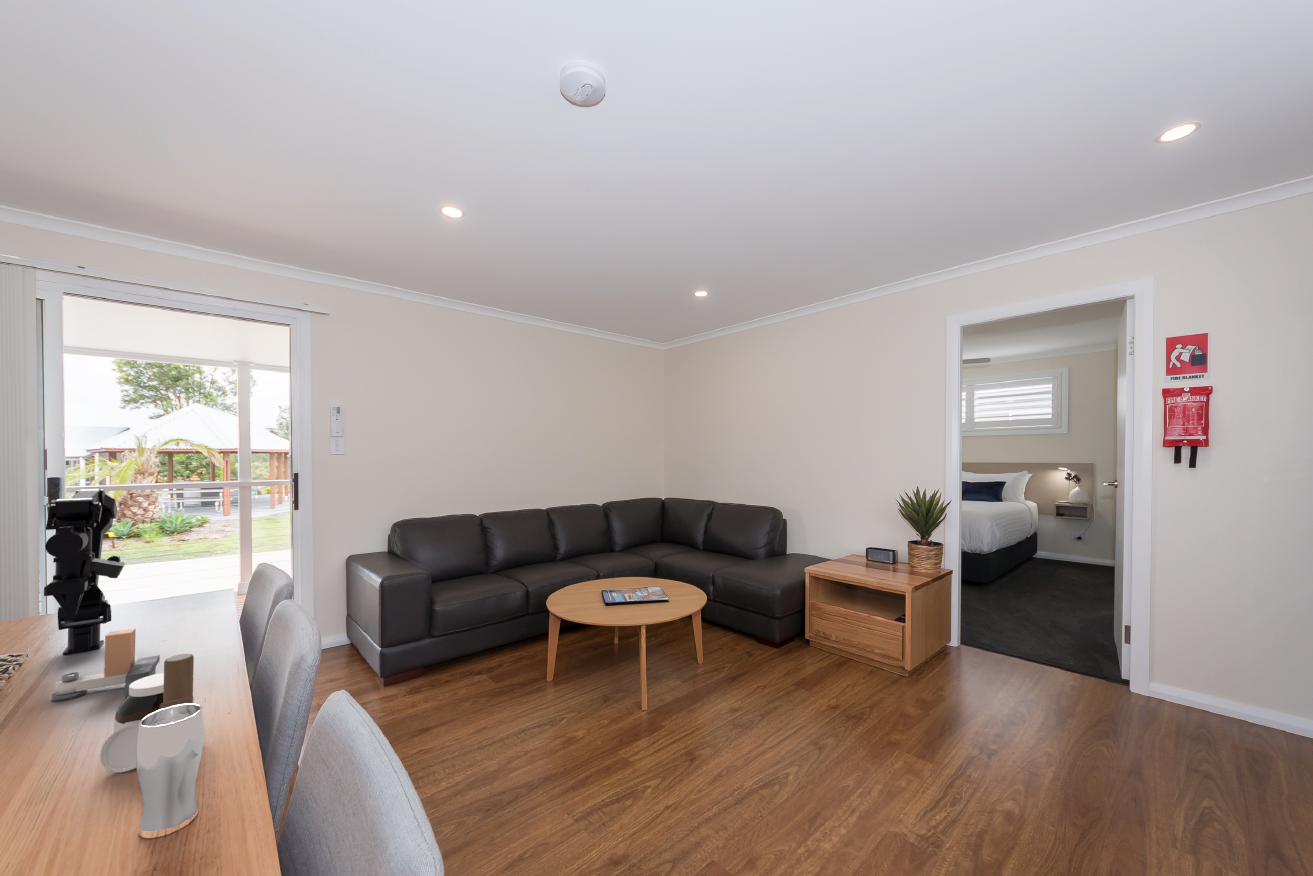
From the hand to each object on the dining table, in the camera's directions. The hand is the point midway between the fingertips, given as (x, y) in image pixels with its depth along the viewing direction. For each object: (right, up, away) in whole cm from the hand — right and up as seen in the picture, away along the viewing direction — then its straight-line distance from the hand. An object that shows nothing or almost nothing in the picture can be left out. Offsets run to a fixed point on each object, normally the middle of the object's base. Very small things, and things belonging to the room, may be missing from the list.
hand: (72, 616), depth 124 cm
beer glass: (+71, -11, -52) cm, 89 cm away
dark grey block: (+27, -12, -11) cm, 32 cm away
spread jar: (+52, -12, -35) cm, 64 cm away
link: (+20, -11, -12) cm, 26 cm away
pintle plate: (+16, -12, -14) cm, 24 cm away
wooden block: (+63, -12, -42) cm, 76 cm away
